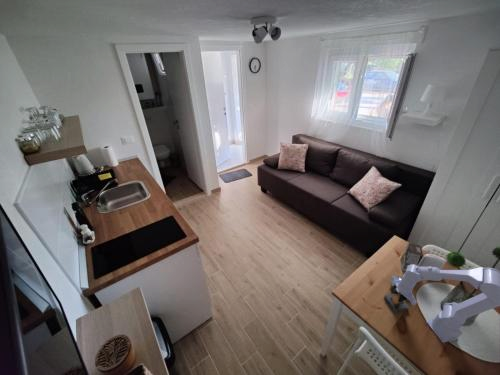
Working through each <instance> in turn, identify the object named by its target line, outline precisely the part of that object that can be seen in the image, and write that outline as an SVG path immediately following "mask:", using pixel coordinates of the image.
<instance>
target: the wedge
mask: <svg viewBox="0 0 500 375" xmlns="http://www.w3.org/2000/svg"><path fill="white" fill-rule="evenodd" d="M400 294H401V293H397V294H395V295H394V296H393V298H392V300H391V301H392V302H393V304H394V305H398V304H402V302H398V300H399V298H400Z"/></svg>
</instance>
